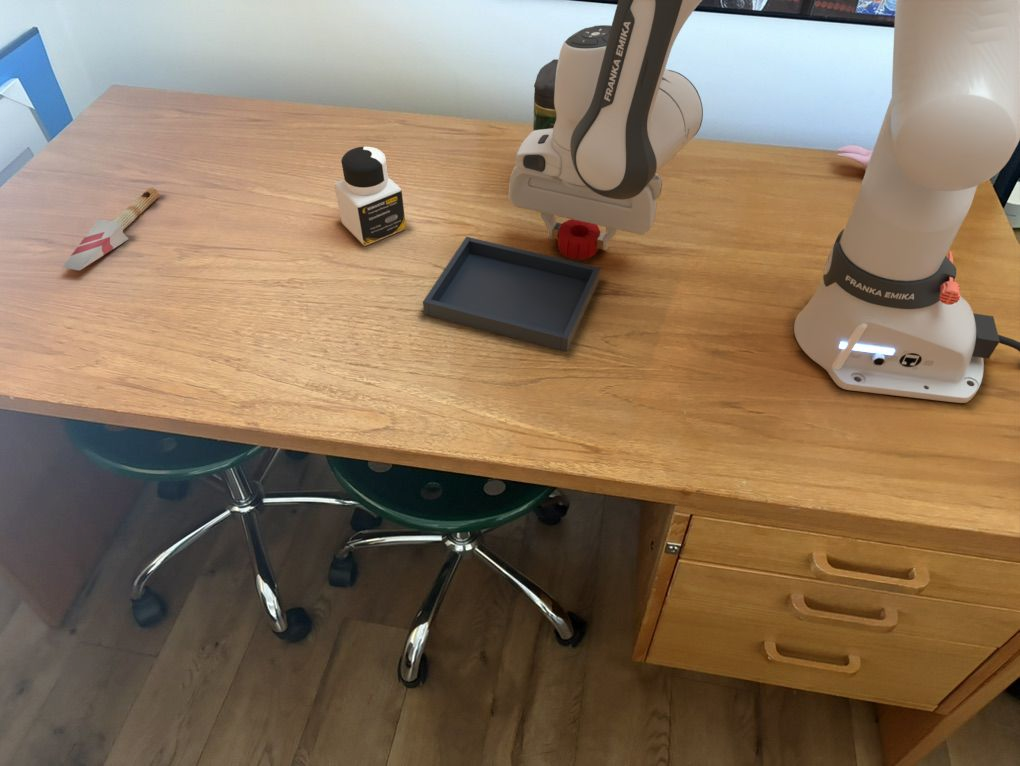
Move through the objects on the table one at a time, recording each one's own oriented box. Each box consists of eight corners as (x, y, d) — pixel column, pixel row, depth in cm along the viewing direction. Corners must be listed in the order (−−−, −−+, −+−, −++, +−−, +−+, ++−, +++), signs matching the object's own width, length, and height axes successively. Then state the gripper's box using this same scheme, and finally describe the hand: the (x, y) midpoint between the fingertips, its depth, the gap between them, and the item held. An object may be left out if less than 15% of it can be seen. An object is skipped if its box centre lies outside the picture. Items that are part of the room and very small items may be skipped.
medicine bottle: (364, 247, 114) (352, 175, 105) (340, 223, 118) (327, 151, 109) (407, 229, 117) (398, 157, 108) (382, 206, 121) (372, 135, 112)
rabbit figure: (924, 181, 128) (833, 151, 129) (945, 149, 123) (851, 119, 124) (924, 202, 124) (830, 171, 125) (946, 171, 119) (848, 139, 120)
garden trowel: (54, 257, 108) (140, 182, 121) (61, 273, 110) (146, 198, 123) (78, 262, 107) (163, 186, 121) (86, 278, 109) (168, 202, 122)
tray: (599, 282, 109) (600, 267, 107) (566, 354, 100) (567, 339, 98) (466, 251, 113) (466, 236, 111) (424, 317, 104) (422, 301, 102)
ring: (602, 241, 115) (604, 223, 113) (591, 265, 111) (593, 247, 109) (565, 233, 116) (566, 215, 114) (552, 256, 113) (553, 238, 110)
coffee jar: (579, 203, 121) (587, 88, 107) (528, 199, 122) (530, 84, 108) (585, 168, 128) (594, 56, 114) (536, 164, 129) (539, 52, 115)
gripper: (669, 158, 102) (655, 244, 113) (520, 129, 107) (519, 214, 117) (658, 184, 98) (644, 271, 109) (504, 153, 103) (504, 239, 113)
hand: (578, 241), depth 113 cm, fingers closed on ring, 6 cm apart
